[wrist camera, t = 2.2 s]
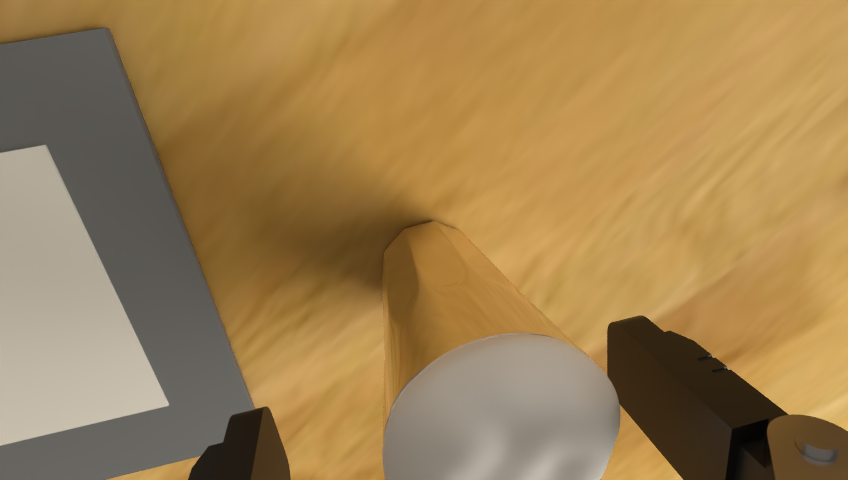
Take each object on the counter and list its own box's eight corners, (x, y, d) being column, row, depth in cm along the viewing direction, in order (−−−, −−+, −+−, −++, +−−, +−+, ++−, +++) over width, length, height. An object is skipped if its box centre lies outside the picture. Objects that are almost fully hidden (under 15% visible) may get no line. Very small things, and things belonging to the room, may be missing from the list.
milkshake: (356, 342, 17) (380, 684, 8) (365, 198, 15) (411, 426, 6) (478, 341, 18) (628, 648, 9) (501, 205, 16) (723, 414, 7)
